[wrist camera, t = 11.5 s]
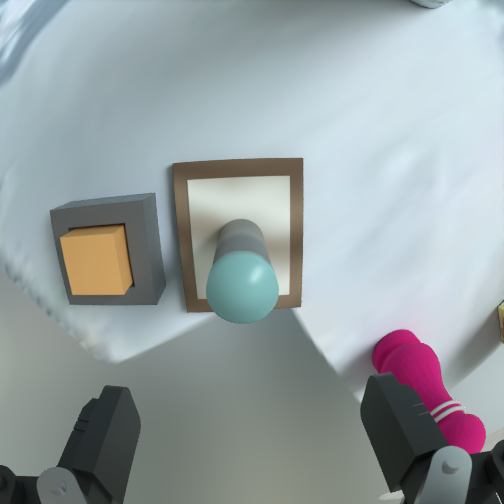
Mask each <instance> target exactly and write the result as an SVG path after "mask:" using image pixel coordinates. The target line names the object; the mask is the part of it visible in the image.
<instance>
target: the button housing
mask: <svg viewBox="0 0 504 504" xmlns="http://www.w3.org/2000/svg"><path fill="white" fill-rule="evenodd" d="M50 215H51V222H52V228H53V233H54V239H55V244H56V249H57V254H58V259H59V264H60V268H61V272H62V277H63V281H64V285H65V289H66V292H67V296H68V300H69V303H70V305H157V304H158V301H159V299H160V297H161V295H162V293H163V291H164V288H165V286H166V283H165V276H164V269H163V261H162V254H161V246H160V237H159V228H158V219H157V209H156V198H155V193H148V194H137V195H127V196H117V197H108V198H99V199H90V200H82V201H75V202H69V203H67V204H64V205H62V206H59V207H57V208H54V209H52V210H50ZM118 223H125V226H126V234H127V241H128V248H129V254H130V261H131V267H132V272H133V278H134V281H133V283H132V284H131V286H130V287H129V288H128V290H127V291H126V293H125V294H124V295H73V294H72V290H71V286H70V282H69V278H68V274H67V270H66V265H65V261H64V256H63V251H62V246H61V241H60V237H62V236H64V235H65V234H67V233H69V232H70V231H72V230H74V229H76V228H77V227H83V226H94V225H106V224H118Z"/></svg>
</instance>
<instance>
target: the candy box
mask: <svg viewBox="0 0 504 504" xmlns="http://www.w3.org/2000/svg"><path fill="white" fill-rule="evenodd" d="M498 313H499V321H500V330H501V341H502V343H503V344H504V302H503V303H502V304H501V305H500V306H498Z"/></svg>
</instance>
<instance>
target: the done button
mask: <svg viewBox="0 0 504 504" xmlns="http://www.w3.org/2000/svg"><path fill="white" fill-rule="evenodd" d="M60 241H61V246H62V251H63V256H64V261H65V265H66V270H67V274H68V278H69V282H70V286H71V290H72V294H73V295H124V294H125V293H126V291H127V290H128V288H129V287H130V286H131V284H132V283H133V281H134V278H133V272H132V267H131V261H130V254H129V248H128V241H127V234H126V226H125V223H118V224H106V225H94V226H83V227H77V228H76V229H74V230H72V231H70V232H69V233H67V234H65V235H64V236H62V237H60Z"/></svg>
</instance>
